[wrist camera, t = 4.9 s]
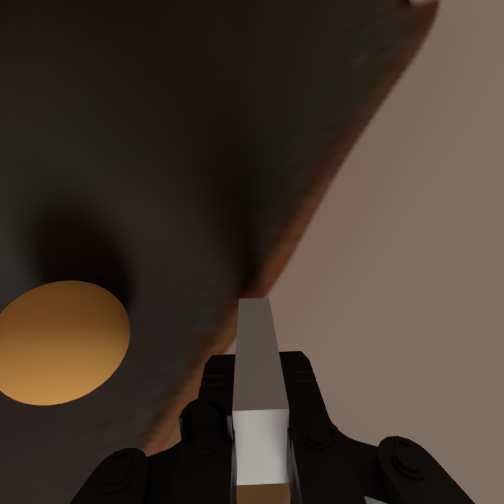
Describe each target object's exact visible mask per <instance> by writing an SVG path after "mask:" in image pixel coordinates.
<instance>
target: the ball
mask: <svg viewBox="0 0 504 504" xmlns="http://www.w3.org/2000/svg"><path fill="white" fill-rule="evenodd" d="M129 339H130V323H129V318H128V315H127V312H126V310H125V308H124V307H123V305H122V303H121V302H120V301H119V300H118V299H117V298H116V296H114V295H113V294H112V293H111V292H109V291H108V290H106V289H104V288H102V287H100V286H98V285H95V284H92V283H89V282H83V281H70V280H69V281H58V282H53V283H49V284H45V285H42V286H39V287H37V288H34V289H32V290H30V291H28V292H26V293H24V294H23V295H21V296H20V297H18V298H17V299H15V300H14V301H13V302H12V303H10V304H9V305H8V306H7V307H6V308H5V309H4V310H3V311H2V312H1V313H0V391H2V392H3V393H4V394H6V395H7V396H9V397H11V398H12V399H15V400H17V401H20V402H23V403H27V404H33V405H54V404H60V403H65V402H68V401H71V400H74V399H77V398H79V397H81V396H83V395H85V394H87V393H89V392H91V391H93V390H94V389H96V388H97V387H98V386H100V385H101V384H102V383H103V382H105V381H106V380H107V379H108V378H109V377H110V376H111V375H112V374H113V372H114V371H115V370H116V369H117V367H118V366H119V364H120V363H121V361H122V359H123V358H124V356H125V353H126V350H127V348H128V344H129Z"/></svg>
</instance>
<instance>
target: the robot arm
mask: <svg viewBox="0 0 504 504" xmlns="http://www.w3.org/2000/svg"><path fill="white" fill-rule="evenodd" d="M179 424H180V432H181V439H182V440H181V441H180V442H179V443H177V444H176V445H175V446H174V447H171V448H169V449H167V450H165V451H162V452H159V453H157V454H154V455H151V456H149V457H146V455H145V453H144V452H143V451H141V450H139V449H137V448H125V449H122V450H120V451H117V452H114V453H113V454H112V455H110V456H109V457H107V458H106V459H104V460H103V461H102V462H101V463H100V464H99V465H98V467H97V468H96V469H95V470H94V471H93V472H92V474H91V475H90V476H89V478H88V479H87V481H86V482H85V483H84V485H83V486H82V487H81V489H80V490H79V491H78V493H77V494H76V495H75V497H74V498H73V500H72V501H71V502H70V504H237V499H236V493H237V492H236V491H237V485H248V484H249V485H250V484H273V483H288V479H289V486H290V493H291V499H290V504H475V503H474V502H473V501H472V500H471V499H470V498H469V496H468V495H467V494H466V493H465V492H464V491H463V490H462V489H461V488H460V486H459V485H458V484H457V483H456V482H455V481H454V480H453V479H452V478H451V477H450V476H449V474H448V473H447V472H446V471H445V470H444V469H443V468H442V467H441V465H440V464H439V463H438V462H437V461H436V460H435V459H434V458H433V457H432V456H431V455H430V454H429V453H428V452H427V451H426V450H425V449H424V448H422V447H421V446H420V445H419V444H417V443H415V442H413V441H411V440H410V439H407V438H403V437H399V436H391V437H386V438H385V439H383V440H382V441H381V442H380V444H379V446H378V447H377V446H373V445H370V444H366V443H362V442H359V441H356V440H353V439H351V438H349V437H347V436H346V435H344V434H342V433H341V432H340V431H339V430H338V428H337V427H336V426H335V425H334V424H333V423H332V422H331V420H330V418H329V416H328V413H327V410H326V407H325V404H324V401H323V398H322V396H321V393H320V390H319V387H318V384H317V381H316V378H315V375H314V372H313V369H312V366H311V364H310V360H309V359H308V358H307V357H306V356H305V355H304V354H303V353H302V352H301V351H289V352H279V351H278V346H277V340H276V335H275V330H274V324H273V318H272V313H271V308H270V302H269V298H244V299H239V309H238V325H237V342H236V354H230V355H212V356H211V358H210V359H209V360H208V361H207V363H206V364H205V367H204V372H203V377H202V381H201V387H200V390H199V394H198V399H196V400H194V401H192V402H190V403H189V404H188V405H187V406H186V407H185V408H184V409H183V410H182V412H181V414H180V416H179Z"/></svg>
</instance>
